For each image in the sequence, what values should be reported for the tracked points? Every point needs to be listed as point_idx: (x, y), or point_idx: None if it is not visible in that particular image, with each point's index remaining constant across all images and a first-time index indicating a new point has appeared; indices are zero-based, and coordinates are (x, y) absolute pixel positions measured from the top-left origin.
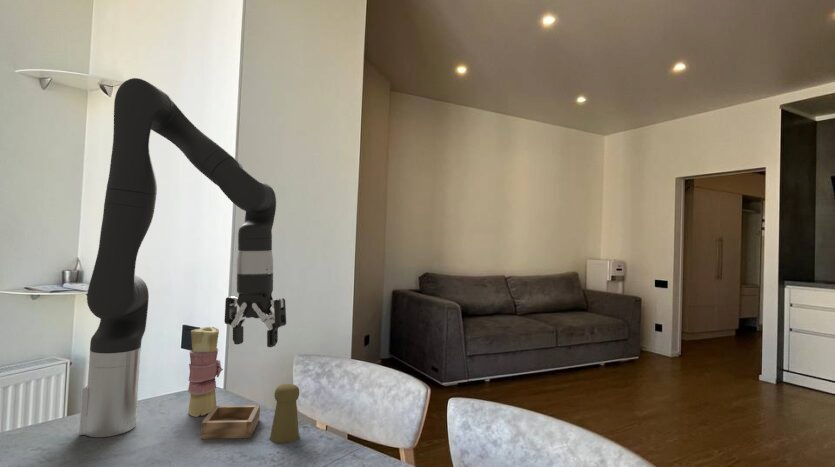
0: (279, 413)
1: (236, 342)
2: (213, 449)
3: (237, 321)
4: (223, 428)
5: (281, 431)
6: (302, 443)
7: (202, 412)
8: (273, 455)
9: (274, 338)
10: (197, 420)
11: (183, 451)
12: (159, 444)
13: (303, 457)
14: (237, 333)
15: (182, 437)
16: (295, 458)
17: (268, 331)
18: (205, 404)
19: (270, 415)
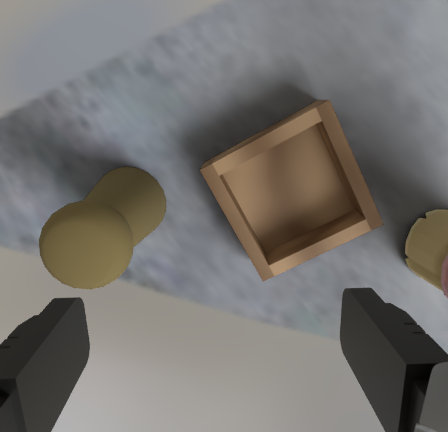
0: (105, 193)
1: (352, 291)
2: (240, 62)
3: (436, 420)
4: (268, 130)
5: (107, 177)
6: (66, 189)
7: (422, 223)
8: (81, 101)
9: (2, 351)
10: (410, 193)
11: (304, 15)
12: (397, 20)
13: (11, 124)
14: (378, 338)
15: (370, 85)
16: (23, 111)
17: (3, 370)
18: (429, 236)
19: (251, 296)
